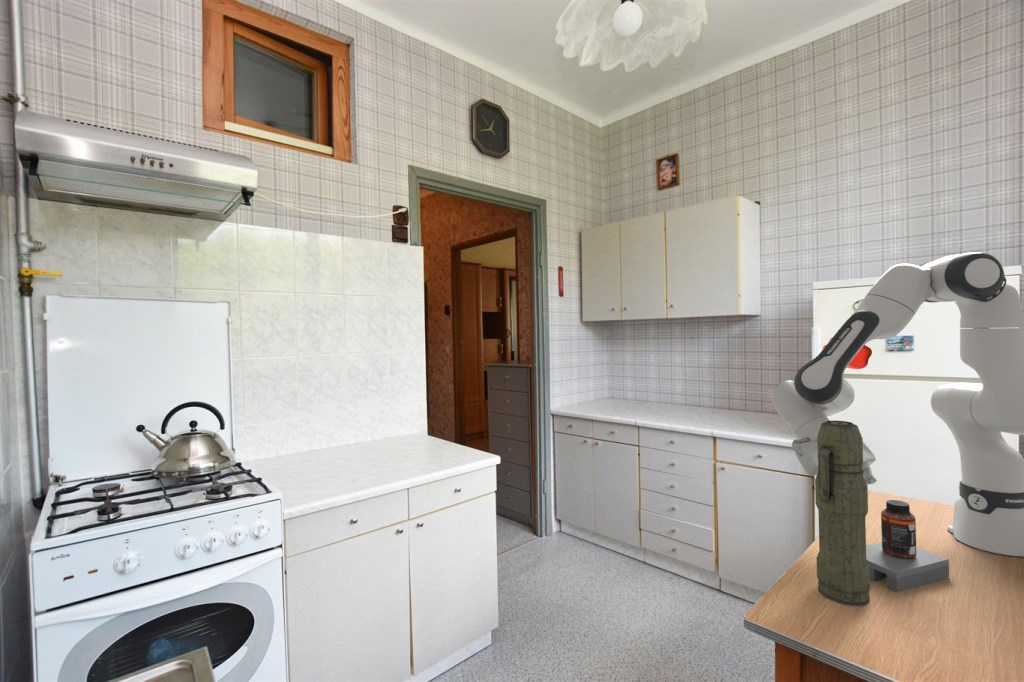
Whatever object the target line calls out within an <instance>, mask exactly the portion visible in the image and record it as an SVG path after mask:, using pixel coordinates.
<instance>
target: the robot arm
mask: <svg viewBox="0 0 1024 682" xmlns="http://www.w3.org/2000/svg"><path fill="white" fill-rule="evenodd" d="M925 302H926V303H944V302H945V303H946V302H947V303H948V302H954V304H956V306H957V307H958V311H959V314H960V320H959V356H960V359H961V361H962V362H963V363H964V364H965V365H966V366H968V367H970V368H971V369H973V370H974V371H975V372H976V374H977V375H978V377H979V378H980V381H981V383H974V382H972V383H971V382H954V383H946V384H941V385H940V386H938V387H937V388H936V389H935V390H934V391H933V392H932V395H931V397H930V406H931V409H932V411H933V412H934V414H935V415H936V416H937V417H938V418H940V420H942V421H943V422H944V424H946V425H947V427H948V429H949V431H950V432H951V434H952V435H953V437H954V440H955V442H956V445H957V447H958V451H959V459H960V471H961V472H960V474H961V480H959V485H958V491H959V492H958V493H959V494H958V495H959V497H960V498H957V500H955V501H954V504H953V505H954V506H953V515H952V524H948V525H947V528H946V529H947V531H948V532H950V533H952V534H953V536H954V538H955V539H956V540H958V541H959V542H960V543H963V544H965V545H968V546H969V547H972V548H975V549H979V550H981V551H986V552H990V553H993V554H1000V555H1004V556H1011V557H1013V556H1014V557H1024V457H1023V456H1022V454H1021V453H1020V452H1019V451H1018V450H1016V449H1015V448H1013V447H1012V446H1011V445H1009V443H1008V442H1007V441H1006V439H1005V438H1004V437H1003V435H1002V433H1007V434H1013V435H1017V436H1020V435H1021V436H1022V435H1023V436H1024V311H1023V305H1022V301H1021V298H1020V294H1019V291H1018V290H1017V289H1016V288H1015V287H1014V286H1013V285H1010V284H1007V278H1006V277H1005V270H1004V268H1003V265H1002V263H1001V262H1000V261H999V260H998V259H997V258H996V257H995V256H993V255H991V254H989V253H985V252H973V251H972V252H971V251H970V252H965V253H962V254H954V255H948V256H944V257H942V258H939V259H936V260H934V261H930V262H925V263H922V264H920V265H915V264H910V263H899V264H896V265H895V264H894V265H893V266H892V267H890V268H888V270H886V271H885V272H884V273H883V274H882V275H881V276H880V278H879V279H878V280H877V281H876V282H875V283H874V285H872V287H870V289H869V290H868V292H867V293H866V295H865V296H864V298H863V299H862V300H861V302H860V303H859V305H858V307H857V308H856V309H855V311H854V312H853V313H852V314H851V316H850V317H849V318H847V319H846V321H845V322H843V324H842V325H841V327H840V328H839V329H838V330H837V332H836V333H835V334H834V335H833V336H832V337H831V338H830V340H829V341H828V342H827V344H826V345H825V346H824V347H823V349H822V350H821V351H820V352H819V354H817V356H816V357H814V358H813V359H812V360H810V361H809V362H807V363H805V364H803V366H802V367H800V368H799V369H798V371H797V372H796V374H795V376H794V380H791V379H787V380H785V381H783V382H780V383H779V384H778V385H777V386H776V387H775V388H774V389H773V391H772V392H771V396H770V397H771V398H770V399H771V402H772V405H773V407H774V409H775V410H776V412H777V413H778V415H779V416H780V418H781V419H782V420H783V421H784V423H785V424H786V425H788V426H789V427H790V428H791V429H792V431H793V435H794V436H795V437H796V438H797V439H794V440H793V441H792V442H791V448H792V450H793V451H794V452H795V456H796V458H797V459H798V462H799V463H800V464H801V467H802V468H803V469H804V471H805V472H806V473H807V474H809V475H810V476H811V477H816V476H817V473H818V442H817V435H818V432H819V429H820V427H821V424H822V423H824V422H826V421H831V420H830V419H829V418H828V417H829V416H832V415H835V414H837V413H840V412H843V411H845V410H847V409H848V408H849V407H850V406H852V404H853V402H854V399H855V391H854V388H853V386H852V385H851V384H850V382H848V380H847V379H846V378H845V377H844V375H845V370H846V368H847V367H848V366H849V365H850V363H851V362H852V361H853V360H854V358H856V356H857V355H858V353H859V352H860V351H861V350H862V348H863V347H864V346H866V345H867V343H869V342H871V341H873V340H887V339H890V338H893V337H896V336H897V335H898V334H900V333H901V332H902V331H903V330H904V329H905V328H906V327H907V326H908V325H909V323H910V322H911V321H912V319H913V318H914V316H915V315H916V314H917V312H918V311H919V309H920V307H921V305H923V303H925ZM876 459H877V458H876V455H875V453H874V452H873V451H872V450H871V449H870V447H869V446H868V445H867V444H866V442H864V441H863V464H862V469H863V475H864V478H865V480H866V483H867V485H873V484H875V483H876V482H877V479H876V478H877V477H875V476H874V475H873V471H872V468H871V465H872V464H873V463H875V462H876V461H877V460H876Z"/></svg>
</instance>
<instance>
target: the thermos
mask: <svg viewBox="0 0 1024 682" xmlns="http://www.w3.org/2000/svg"><path fill="white" fill-rule="evenodd" d="M863 440H864V439H863V436H862V433H861V431H860V429H859V426H858V425H857V424H854V423H853V422H851V421H845V420H830V421H826V422H824V423H822V424H821V427H820V429H819V432H818V435H817V442H818V473H817V475H816V476H815V478H814V491H815V492H814V493H815V495H814V496H815V505H816V507H817V510H818V511H817V513H818V544H819V545H818V550H819V551H818V553H817V555H816V558H815V560H816V577H817V579H818V582H817V583H818V585H817V587H818V588H817V590H818V592H819V593H820V594H821V595H822V596H823V597H824V598H825V599H828V600H830V601H832V602H835V603H838V604H840V605H841V604H842V605H844V606H845V605H846V606H850V607H851V606H853V607H863V606H867V605H868V604H869V603H870V590H871V580H870V566H869V564H868V561H867V559H866V545H867V535H866V533H867V530H866V529H867V528H866V516H867V515H868V513H869V512H868V511H869V498H868V496H869V494H868V492H869V490H868V489H869V488H868V485H869V484H867V483H866V480H865V478H864V475H863V469H862V464H863V442H864V441H863Z"/></svg>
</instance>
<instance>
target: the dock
mask: <svg viewBox="0 0 1024 682" xmlns="http://www.w3.org/2000/svg"><path fill="white" fill-rule="evenodd" d="M866 559H867V561H868V564H869V566H870V581H871V580H872V582H873V581H874V582H875V581H876V582H878V581H879V582H880V581H883V580H886V589H888V590H891V591H893V592H895V593H900V592H903V591H907V590H911V589H915V588H917V587H922V586H925V585H928V584H931V583H935V582H939V581H943V580H946V579H949V578H950V559H949V558H946V557H944V556H941V555H938V554H936V553H933V552H930V551H928V550H925V549H923V548H920V547H917V546H916V557H914V558H911V559H906V558H899V557H894V556H892V555H889V554H887V553H886V552H884V551H883V549H882V541H879V542H875V543H871V544H866ZM874 582H873V583H874Z"/></svg>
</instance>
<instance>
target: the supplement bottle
mask: <svg viewBox="0 0 1024 682" xmlns="http://www.w3.org/2000/svg"><path fill="white" fill-rule="evenodd" d="M910 510H911V509H910V504H909V503H908V502H906V501H904V500H898V499H887V500H886V502H885V508H884V509H882V510H881V512H880V520H881V524H880V525H881V526H880V528H881V542H882V549H883V551H884V552H886V553H887V554H889V555H892V556H894V557H899V558H906V559H911V558H914V557H916V547H917V528H916V527H917V524H916V517H915V515H914V514H913V513H911V511H910Z"/></svg>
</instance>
